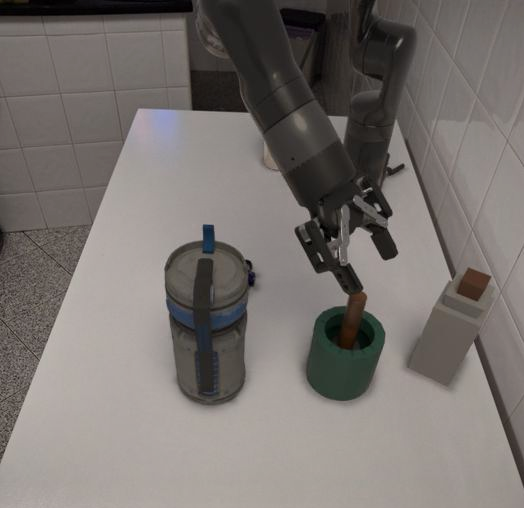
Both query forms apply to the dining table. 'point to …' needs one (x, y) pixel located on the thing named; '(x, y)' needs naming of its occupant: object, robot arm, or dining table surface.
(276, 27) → the robot arm
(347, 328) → the pestle
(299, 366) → the dining table surface
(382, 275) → the dining table surface
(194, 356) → the beverage bottle
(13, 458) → the dining table surface
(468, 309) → the perfume bottle
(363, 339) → the green tube segment
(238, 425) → the dining table surface
